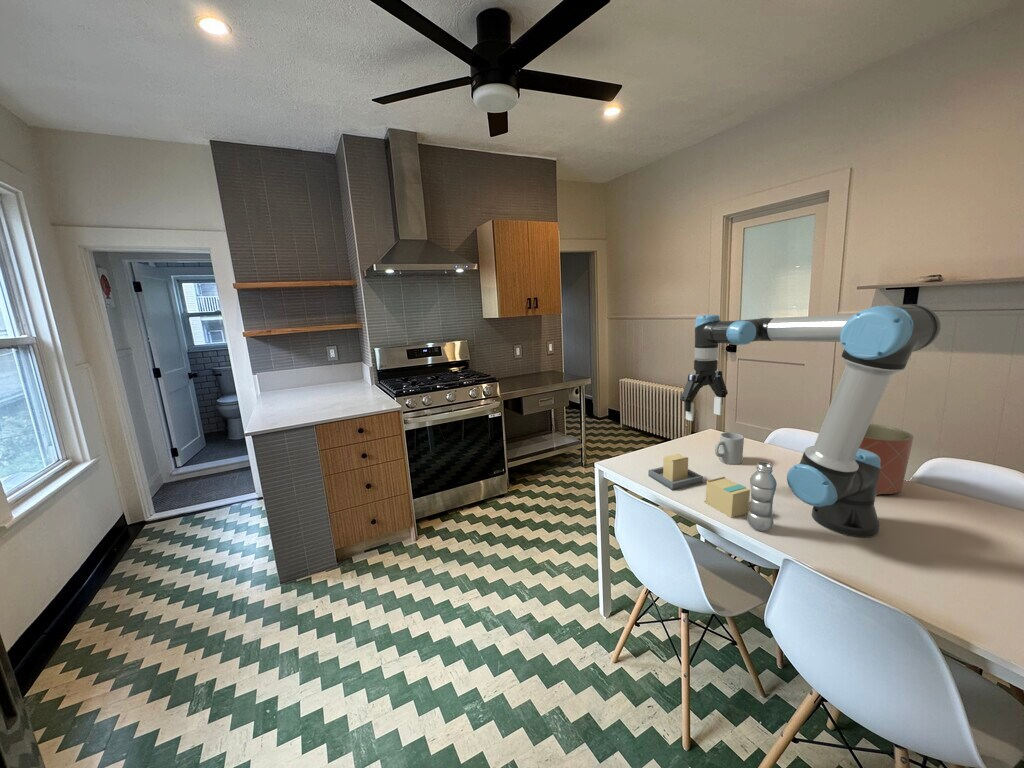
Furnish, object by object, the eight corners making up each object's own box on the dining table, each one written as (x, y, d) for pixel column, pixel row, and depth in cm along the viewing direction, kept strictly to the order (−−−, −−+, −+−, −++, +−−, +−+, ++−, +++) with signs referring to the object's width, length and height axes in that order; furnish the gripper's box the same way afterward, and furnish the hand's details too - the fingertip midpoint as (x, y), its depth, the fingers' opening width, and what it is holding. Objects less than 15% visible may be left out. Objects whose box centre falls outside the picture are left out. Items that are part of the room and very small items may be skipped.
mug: (730, 455, 166) (731, 431, 164) (747, 462, 158) (749, 437, 156) (707, 459, 163) (708, 435, 160) (723, 467, 155) (725, 441, 152)
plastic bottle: (760, 536, 110) (766, 470, 106) (741, 523, 117) (746, 461, 113) (778, 531, 112) (785, 467, 108) (758, 519, 118) (763, 458, 114)
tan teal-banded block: (748, 512, 122) (750, 489, 120) (731, 517, 120) (733, 493, 118) (719, 497, 132) (721, 475, 130) (703, 502, 130) (705, 479, 128)
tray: (702, 482, 143) (703, 476, 143) (672, 490, 139) (672, 483, 138) (677, 469, 155) (677, 463, 155) (648, 475, 151) (648, 470, 150)
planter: (855, 469, 147) (862, 419, 143) (918, 492, 129) (928, 435, 125) (817, 477, 143) (823, 426, 139) (876, 502, 125) (886, 443, 120)
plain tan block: (687, 478, 145) (688, 457, 144) (672, 481, 143) (673, 461, 141) (677, 473, 150) (678, 453, 148) (663, 476, 148) (663, 456, 146)
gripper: (722, 355, 144) (720, 409, 148) (670, 361, 136) (669, 419, 139) (740, 356, 137) (737, 414, 141) (687, 363, 129) (685, 425, 133)
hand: (703, 417), depth 140 cm, fingers open, 13 cm apart
